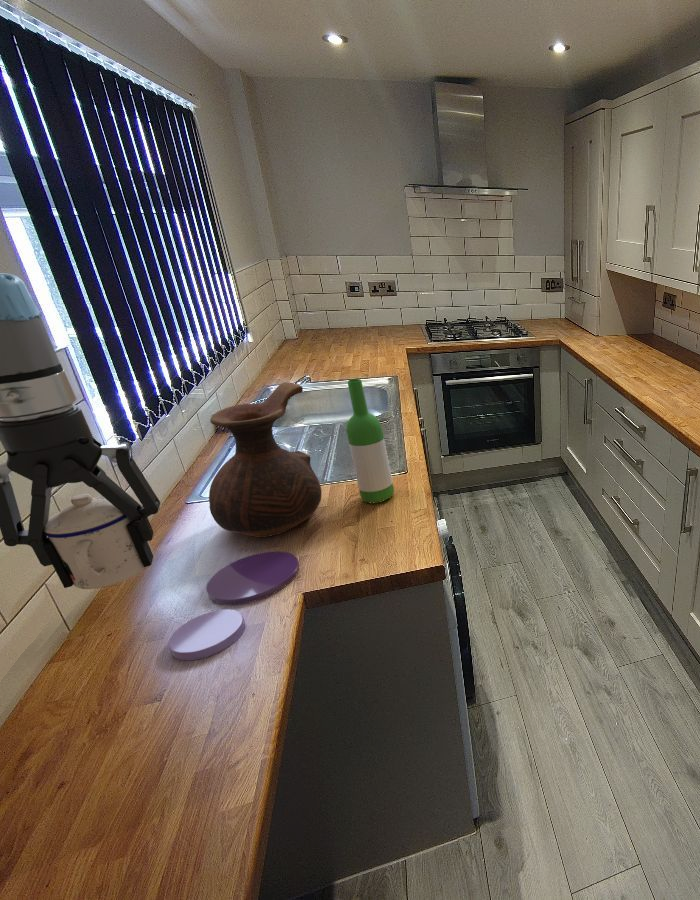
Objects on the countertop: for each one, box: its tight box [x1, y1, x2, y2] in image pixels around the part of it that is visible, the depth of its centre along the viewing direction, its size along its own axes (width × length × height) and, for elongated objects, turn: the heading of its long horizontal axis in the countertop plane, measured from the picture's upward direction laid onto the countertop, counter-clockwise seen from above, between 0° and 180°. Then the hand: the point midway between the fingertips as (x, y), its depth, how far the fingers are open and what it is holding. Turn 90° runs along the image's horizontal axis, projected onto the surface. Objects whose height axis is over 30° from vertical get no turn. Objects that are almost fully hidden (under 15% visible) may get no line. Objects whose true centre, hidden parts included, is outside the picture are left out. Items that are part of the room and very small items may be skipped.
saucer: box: [206, 550, 300, 606], centre depth 100 cm, size 15×15×1 cm
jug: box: [208, 381, 322, 538], centre depth 114 cm, size 22×22×30 cm
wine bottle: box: [345, 378, 395, 504], centre depth 124 cm, size 8×8×30 cm
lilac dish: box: [168, 608, 246, 661], centre depth 86 cm, size 10×10×2 cm
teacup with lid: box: [43, 493, 155, 590], centre depth 69 cm, size 12×9×12 cm
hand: (111, 571), depth 71 cm, fingers closed on teacup with lid, 7 cm apart
